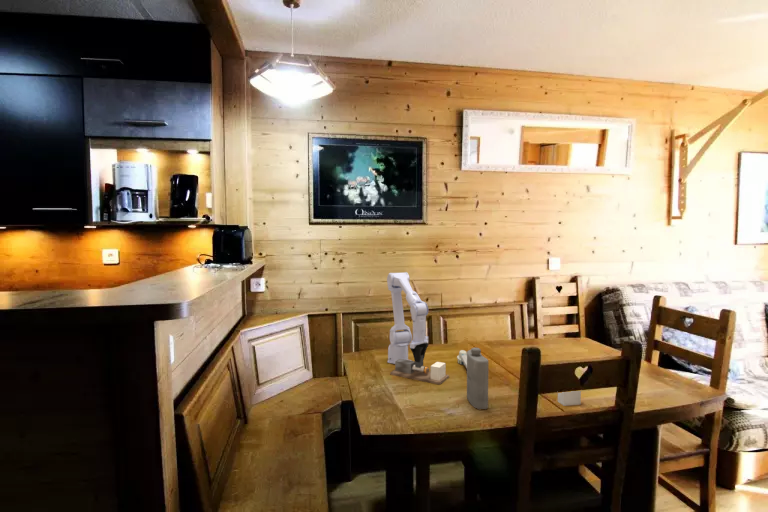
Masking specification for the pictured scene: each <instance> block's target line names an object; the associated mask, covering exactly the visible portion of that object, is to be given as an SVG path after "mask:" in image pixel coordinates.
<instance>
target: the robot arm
mask: <svg viewBox="0 0 768 512" xmlns="http://www.w3.org/2000/svg"><path fill="white" fill-rule="evenodd" d="M386 283H387V290H388V291H390V295H391V301H392V303H391V304H392V312H393V320H394V322H393V323H394V325H393V326H391V328H390V329H389V342H390V344H389V345H388V349H387V363H389V364H394V365H395V361H397V360H398V359H405V360H410V361H412V360H411V359H409V349H410V350H411V353H412V356H413V358H414V360H413V361H415V362H420V357H421V354H423V361H424V360H425V355H426V352H427V349H428V347H429V336H427V316H428V314H429V306H428V303H427V302H425V301H424V300H423V301H422V300H421V298H420V296H419V294H418V293H417V292H416V291H414V290H413V288H412V286H411V283H410V275H409V273H408V272H407V271H404V272H389V273H388V274H387V277H386ZM402 292H404V294H405V300H406V302H407V304H408V306H409V307H410V309H409V310H410V315H411V320H412V332H411V328H410V326H408V325H407V324H406V323H405V315H404V307H403V305H404V304H403V297H402Z"/></svg>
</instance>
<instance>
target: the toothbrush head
mask: <svg viewBox="0 0 768 512" xmlns="http://www.w3.org/2000/svg"><path fill="white" fill-rule="evenodd" d="M456 359H457V363H458V364H459V365H463V366H465V368H466V369H467V351H466V350H463V349H461V350H459V353H458V355H457V356H456Z"/></svg>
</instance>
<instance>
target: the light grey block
mask: <svg viewBox="0 0 768 512" xmlns="http://www.w3.org/2000/svg"><path fill="white" fill-rule="evenodd" d="M581 392H582V390H581V391H571V392H562V393H558V392H557V402H558V403H559V404H560V405H562V406H564V407H565V406H566V407H567V406H578V405H579V406H580V405H582V403H581V401H582V400H581V399H582V393H581Z"/></svg>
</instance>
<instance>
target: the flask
mask: <svg viewBox="0 0 768 512" xmlns="http://www.w3.org/2000/svg"><path fill="white" fill-rule="evenodd" d="M466 352H467V368H466V398H467V401H468V403H469V404H470V406H472V407H474V408H475V409H476V408H477V409H476V410H480V409H485V410H487V409H488V408H489V360H488V358H486V357H485V356H484V355H483V354H482V353H481V352H482V349H481V348H479V347H471V349H469V350H467V351H466Z"/></svg>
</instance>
